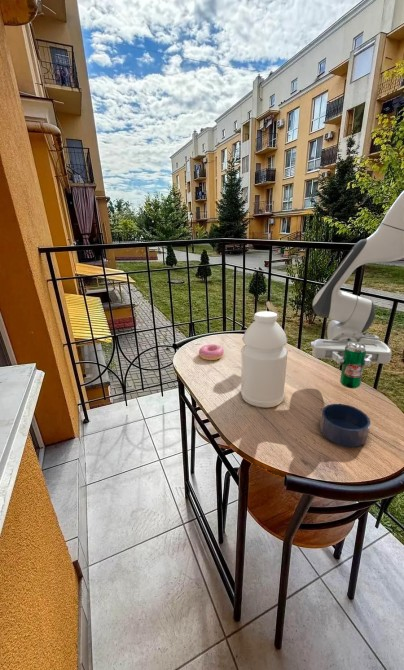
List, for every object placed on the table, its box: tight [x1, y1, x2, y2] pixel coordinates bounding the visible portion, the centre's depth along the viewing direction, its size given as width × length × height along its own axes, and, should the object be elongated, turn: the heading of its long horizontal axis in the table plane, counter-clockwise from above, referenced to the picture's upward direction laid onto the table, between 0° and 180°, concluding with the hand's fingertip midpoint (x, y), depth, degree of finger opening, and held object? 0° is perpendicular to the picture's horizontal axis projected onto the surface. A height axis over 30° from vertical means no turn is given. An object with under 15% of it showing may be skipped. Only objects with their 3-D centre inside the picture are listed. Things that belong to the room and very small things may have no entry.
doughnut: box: [198, 343, 225, 361], centre depth 121 cm, size 11×11×4 cm
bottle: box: [240, 310, 289, 408], centre depth 87 cm, size 14×14×28 cm
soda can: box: [339, 342, 366, 390], centre depth 76 cm, size 5×5×12 cm
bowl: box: [319, 403, 371, 448], centre depth 73 cm, size 11×11×5 cm
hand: (354, 362), depth 75 cm, fingers closed on soda can, 5 cm apart
